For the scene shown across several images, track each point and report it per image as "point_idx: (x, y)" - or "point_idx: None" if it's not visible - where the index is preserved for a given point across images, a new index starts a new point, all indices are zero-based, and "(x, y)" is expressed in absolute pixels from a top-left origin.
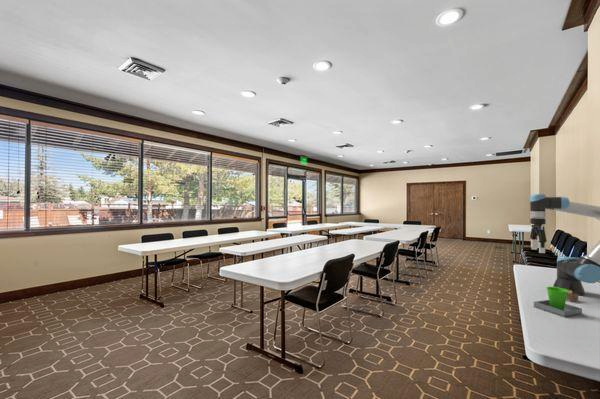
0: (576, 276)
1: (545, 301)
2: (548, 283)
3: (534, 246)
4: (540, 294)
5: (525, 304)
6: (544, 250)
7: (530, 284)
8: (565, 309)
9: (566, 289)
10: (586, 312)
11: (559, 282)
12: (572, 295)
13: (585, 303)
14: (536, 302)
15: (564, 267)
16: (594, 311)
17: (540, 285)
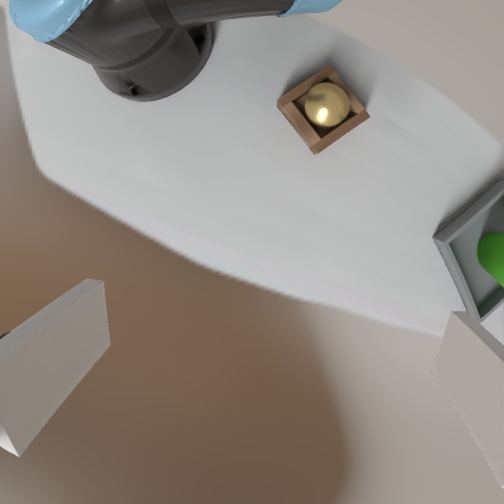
0: (296, 13)
1: (461, 273)
2: (40, 95)
3: (81, 340)
4: (273, 207)
5: None
6: (483, 337)
7: (82, 182)
8: (483, 217)
9: (321, 102)
10: (477, 145)
11: (152, 73)
12: (358, 102)
13: (353, 64)
14: (484, 317)
15: (156, 19)
16: (454, 104)
17: (83, 139)
